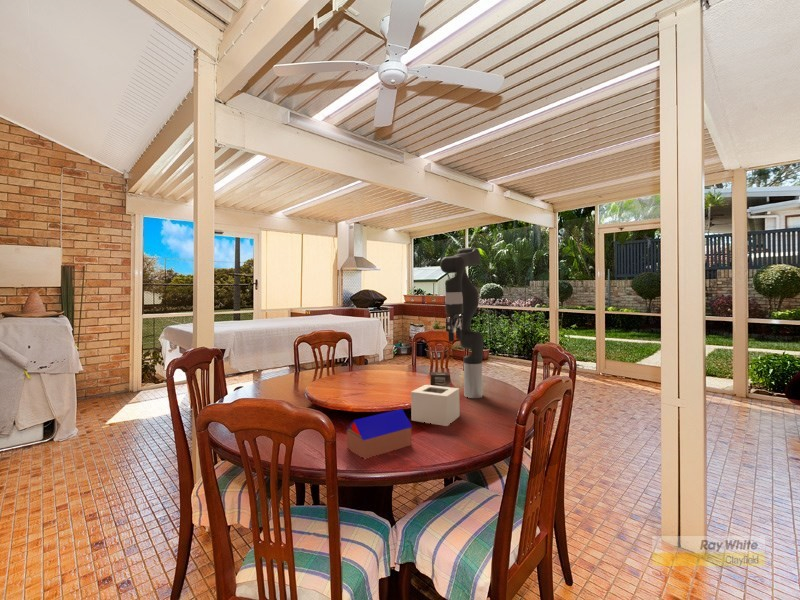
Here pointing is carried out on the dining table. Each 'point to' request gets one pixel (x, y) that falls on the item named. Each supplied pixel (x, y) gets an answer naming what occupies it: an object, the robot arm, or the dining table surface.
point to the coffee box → (440, 379)
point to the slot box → (435, 405)
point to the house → (379, 433)
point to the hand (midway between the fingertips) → (455, 340)
